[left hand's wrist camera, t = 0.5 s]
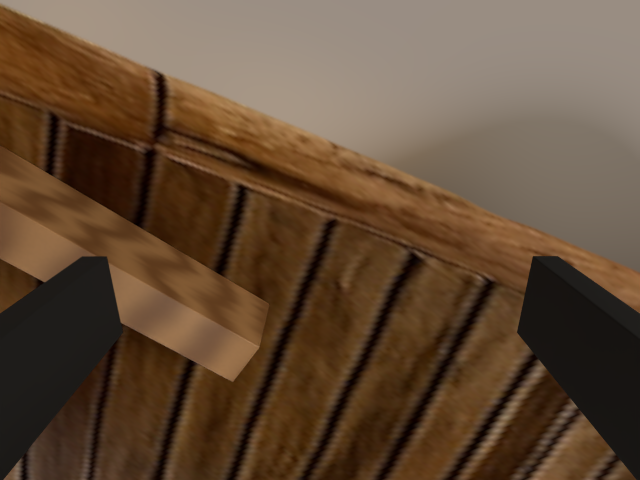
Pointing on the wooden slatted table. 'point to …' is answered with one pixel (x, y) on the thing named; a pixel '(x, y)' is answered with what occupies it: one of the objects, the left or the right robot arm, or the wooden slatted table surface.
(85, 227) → the bar
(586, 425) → the wooden slatted table surface
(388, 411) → the wooden slatted table surface
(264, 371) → the wooden slatted table surface
